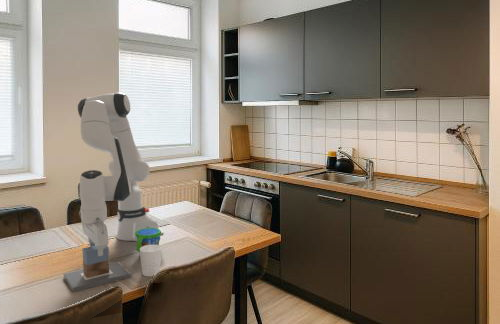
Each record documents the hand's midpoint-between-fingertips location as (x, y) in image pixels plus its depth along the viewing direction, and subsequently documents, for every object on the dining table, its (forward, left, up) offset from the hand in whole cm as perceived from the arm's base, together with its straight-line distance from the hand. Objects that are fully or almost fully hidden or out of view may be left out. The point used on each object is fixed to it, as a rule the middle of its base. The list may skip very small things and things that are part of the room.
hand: (96, 251), depth 147 cm
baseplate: (0, 0, -10) cm, 10 cm away
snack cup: (-25, -11, -10) cm, 29 cm away
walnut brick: (0, 0, -9) cm, 9 cm away
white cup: (-18, +8, -10) cm, 22 cm away
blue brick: (0, 0, -4) cm, 4 cm away
